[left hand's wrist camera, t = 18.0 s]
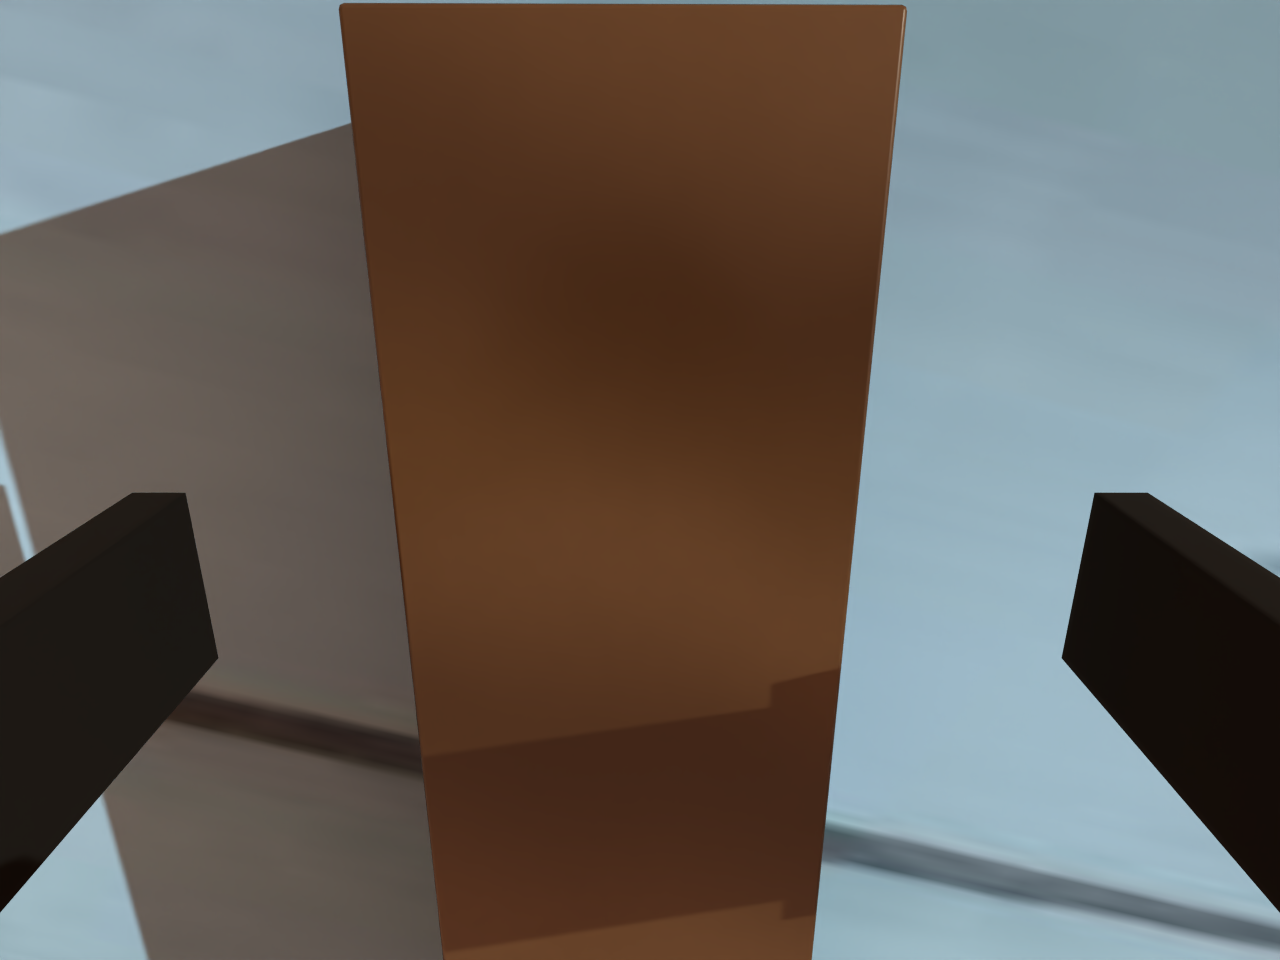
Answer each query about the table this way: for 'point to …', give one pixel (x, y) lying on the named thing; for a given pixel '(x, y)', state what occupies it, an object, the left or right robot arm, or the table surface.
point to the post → (624, 447)
